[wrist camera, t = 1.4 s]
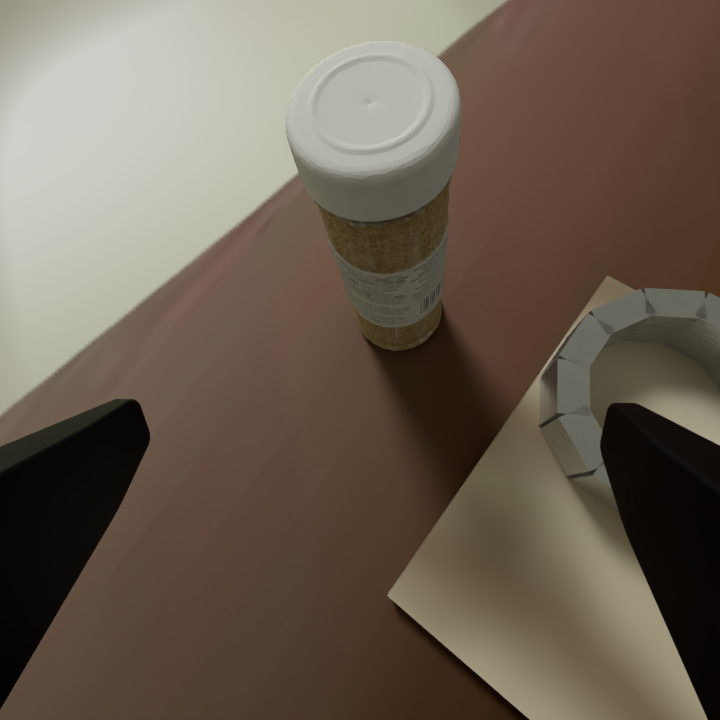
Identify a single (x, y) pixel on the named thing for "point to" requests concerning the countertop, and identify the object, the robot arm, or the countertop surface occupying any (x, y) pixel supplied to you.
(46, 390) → the countertop surface
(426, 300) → the sprinkles bottle
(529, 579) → the birch board
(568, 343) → the steel collar
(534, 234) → the countertop surface
